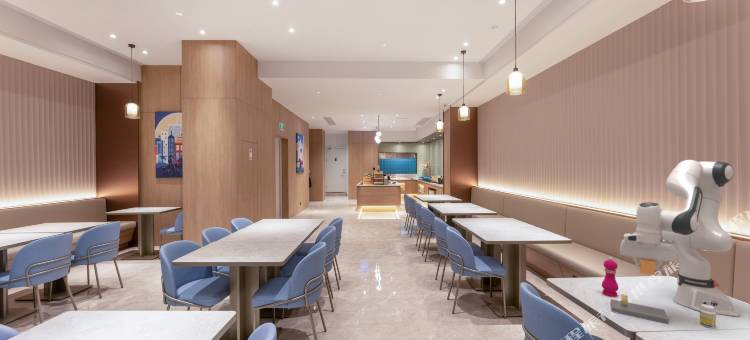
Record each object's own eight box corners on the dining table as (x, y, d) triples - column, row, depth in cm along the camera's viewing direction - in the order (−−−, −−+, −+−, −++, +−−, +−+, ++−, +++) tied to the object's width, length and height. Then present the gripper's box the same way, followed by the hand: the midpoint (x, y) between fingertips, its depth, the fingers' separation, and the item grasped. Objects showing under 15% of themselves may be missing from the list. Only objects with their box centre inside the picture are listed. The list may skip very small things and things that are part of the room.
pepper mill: (621, 298, 168) (622, 259, 167) (605, 296, 169) (606, 258, 169) (613, 292, 175) (614, 255, 174) (598, 291, 176) (599, 255, 176)
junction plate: (663, 313, 150) (664, 298, 150) (668, 324, 140) (669, 307, 140) (610, 302, 161) (610, 289, 161) (611, 311, 151) (611, 296, 151)
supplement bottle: (707, 323, 141) (707, 303, 141) (718, 328, 137) (719, 308, 137) (696, 323, 141) (696, 303, 141) (707, 328, 137) (708, 308, 137)
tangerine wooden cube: (653, 272, 149) (653, 259, 149) (654, 275, 145) (655, 261, 145) (639, 270, 152) (639, 257, 152) (640, 272, 148) (640, 259, 148)
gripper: (676, 240, 145) (675, 270, 145) (619, 233, 157) (619, 262, 157) (680, 242, 140) (679, 274, 140) (620, 236, 151) (619, 265, 151)
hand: (646, 268), depth 148 cm, fingers closed on tangerine wooden cube, 5 cm apart
